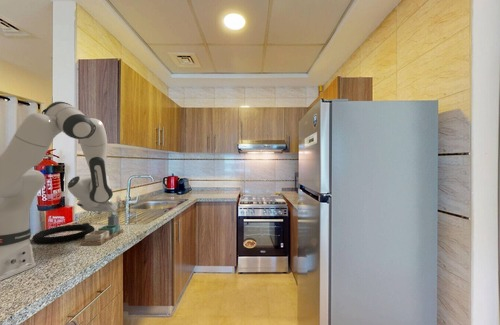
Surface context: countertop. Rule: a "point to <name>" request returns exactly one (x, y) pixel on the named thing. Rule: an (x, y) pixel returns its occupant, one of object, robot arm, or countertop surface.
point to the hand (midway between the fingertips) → (107, 213)
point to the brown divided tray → (102, 235)
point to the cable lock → (59, 239)
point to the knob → (113, 220)
